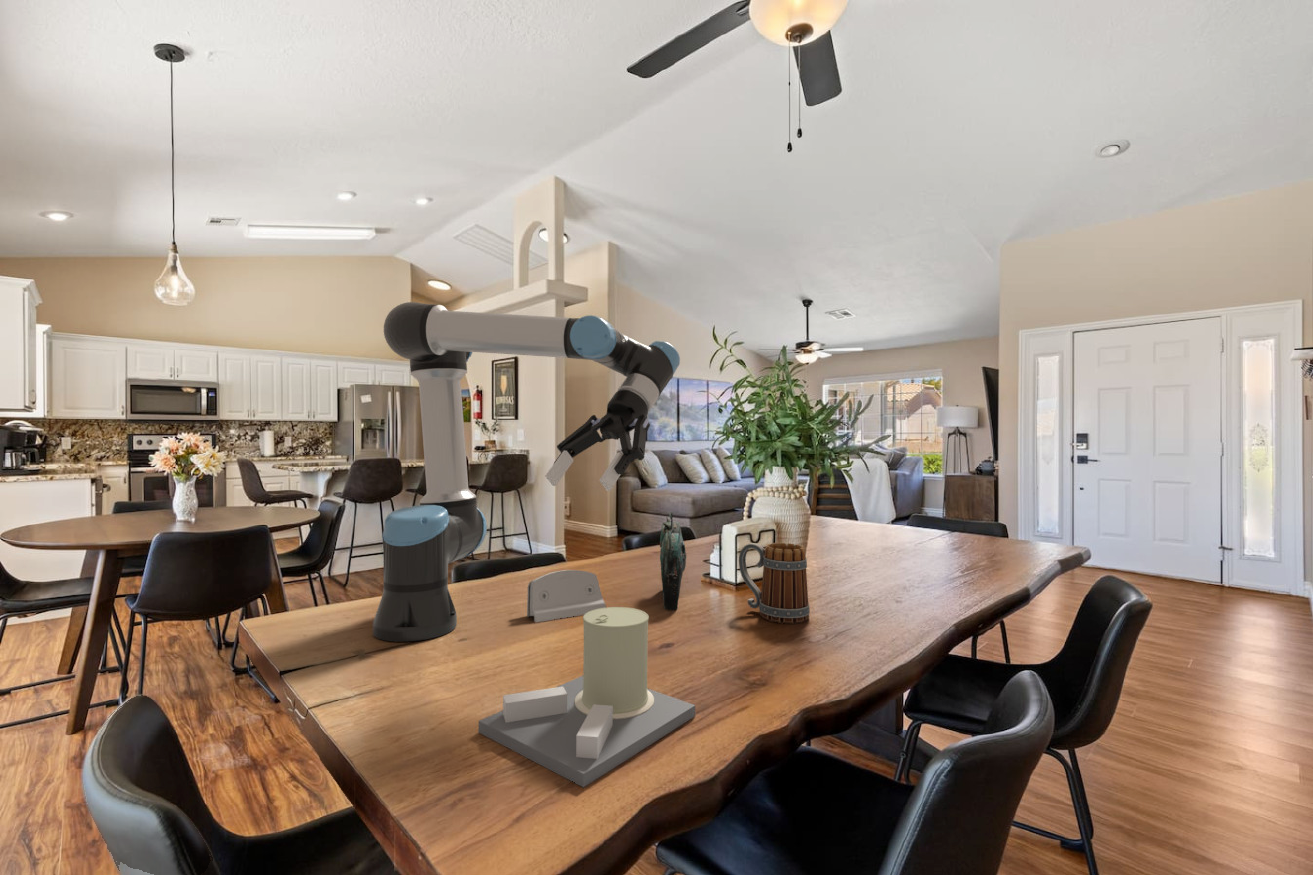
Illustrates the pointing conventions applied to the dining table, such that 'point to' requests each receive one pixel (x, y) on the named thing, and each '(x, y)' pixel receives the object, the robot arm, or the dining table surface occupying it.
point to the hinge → (563, 595)
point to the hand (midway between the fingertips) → (576, 483)
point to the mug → (779, 582)
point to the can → (615, 658)
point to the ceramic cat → (671, 562)
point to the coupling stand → (580, 729)
